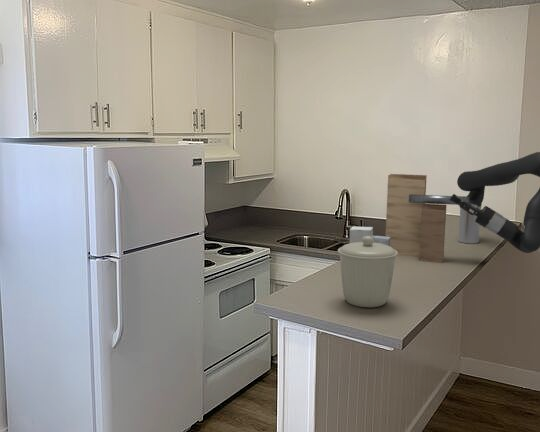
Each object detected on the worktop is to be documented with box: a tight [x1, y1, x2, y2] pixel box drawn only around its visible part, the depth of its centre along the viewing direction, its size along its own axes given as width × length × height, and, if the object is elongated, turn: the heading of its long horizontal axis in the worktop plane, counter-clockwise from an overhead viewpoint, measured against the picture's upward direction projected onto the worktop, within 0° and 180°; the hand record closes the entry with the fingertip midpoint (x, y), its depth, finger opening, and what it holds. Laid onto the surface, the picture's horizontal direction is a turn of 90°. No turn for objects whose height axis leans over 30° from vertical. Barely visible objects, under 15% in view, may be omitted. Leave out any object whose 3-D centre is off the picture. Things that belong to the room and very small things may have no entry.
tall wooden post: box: [418, 203, 447, 264], centre depth 227 cm, size 7×9×22 cm
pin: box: [409, 194, 469, 206], centre depth 224 cm, size 3×23×3 cm, turn 70°
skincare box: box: [349, 226, 374, 243], centre depth 214 cm, size 8×7×16 cm
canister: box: [337, 236, 398, 308], centre depth 172 cm, size 18×18×21 cm
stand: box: [385, 173, 427, 257], centre depth 237 cm, size 7×15×34 cm, turn 70°
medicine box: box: [373, 235, 390, 246], centre depth 231 cm, size 8×4×9 cm, turn 65°
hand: (451, 196), depth 222 cm, fingers closed on pin, 3 cm apart
